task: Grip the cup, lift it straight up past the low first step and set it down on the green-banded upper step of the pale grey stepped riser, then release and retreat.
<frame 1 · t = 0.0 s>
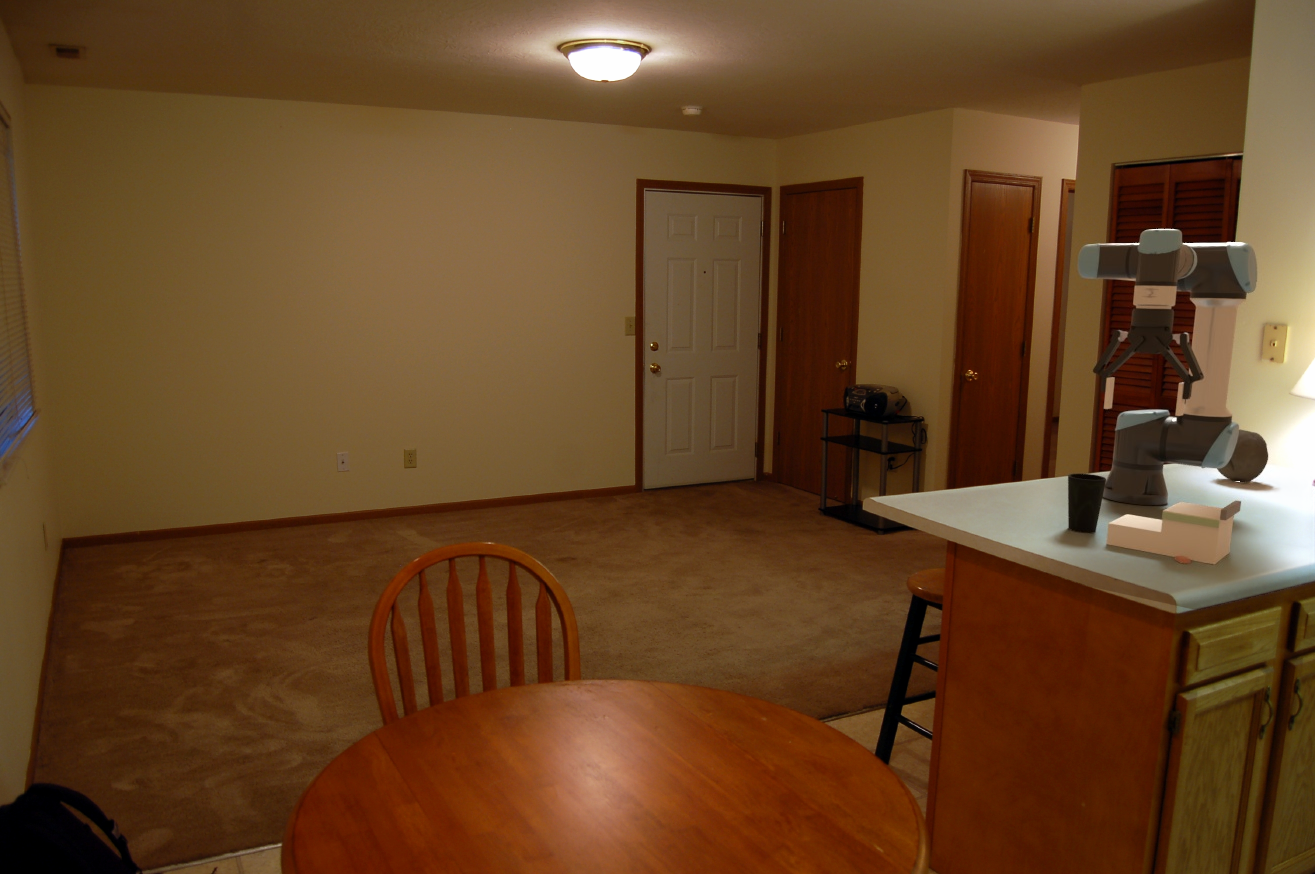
hand: (1142, 412, 190), 28 cm above the table, fingers open, 13 cm apart
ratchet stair: (1167, 548, 192), on the table
cup: (1081, 530, 206), on the table
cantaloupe: (1236, 481, 266), on the table
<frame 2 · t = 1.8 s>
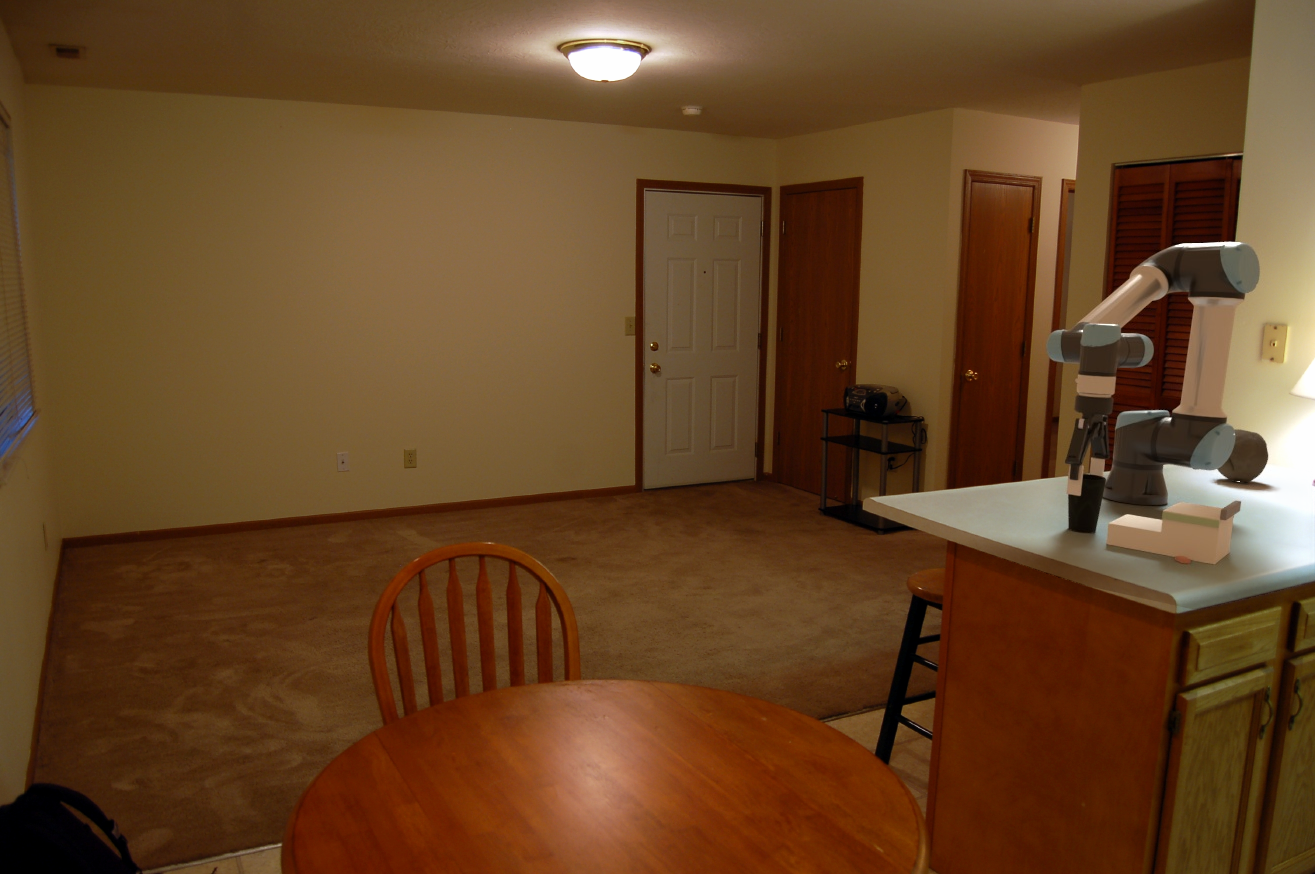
hand: (1084, 490, 204), 9 cm above the table, fingers open, 13 cm apart
nothing on the table moved.
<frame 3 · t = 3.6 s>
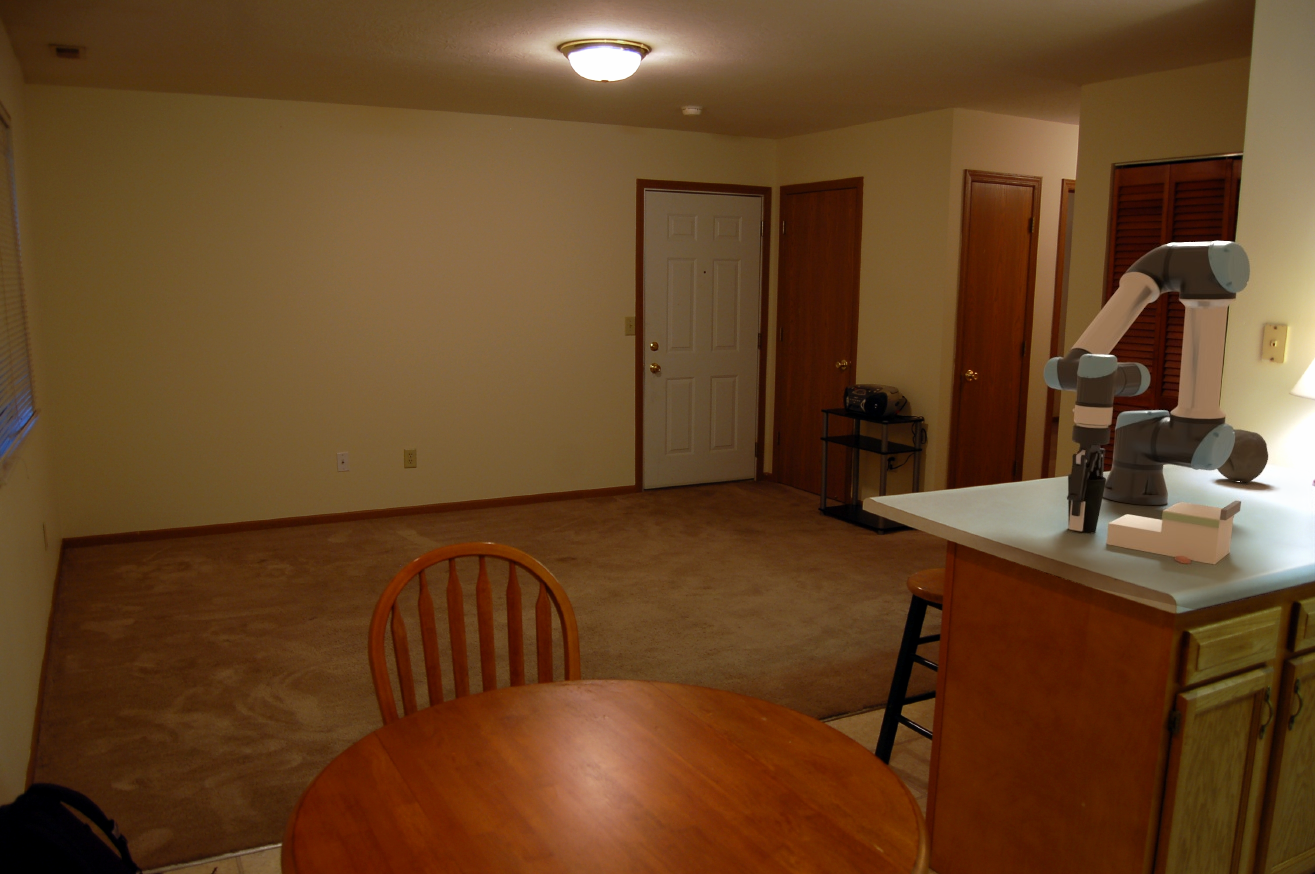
hand: (1082, 526, 206), 1 cm above the table, fingers closed on cup, 8 cm apart
cup: (1082, 530, 206), on the table, touching gripper
everything else where it was.
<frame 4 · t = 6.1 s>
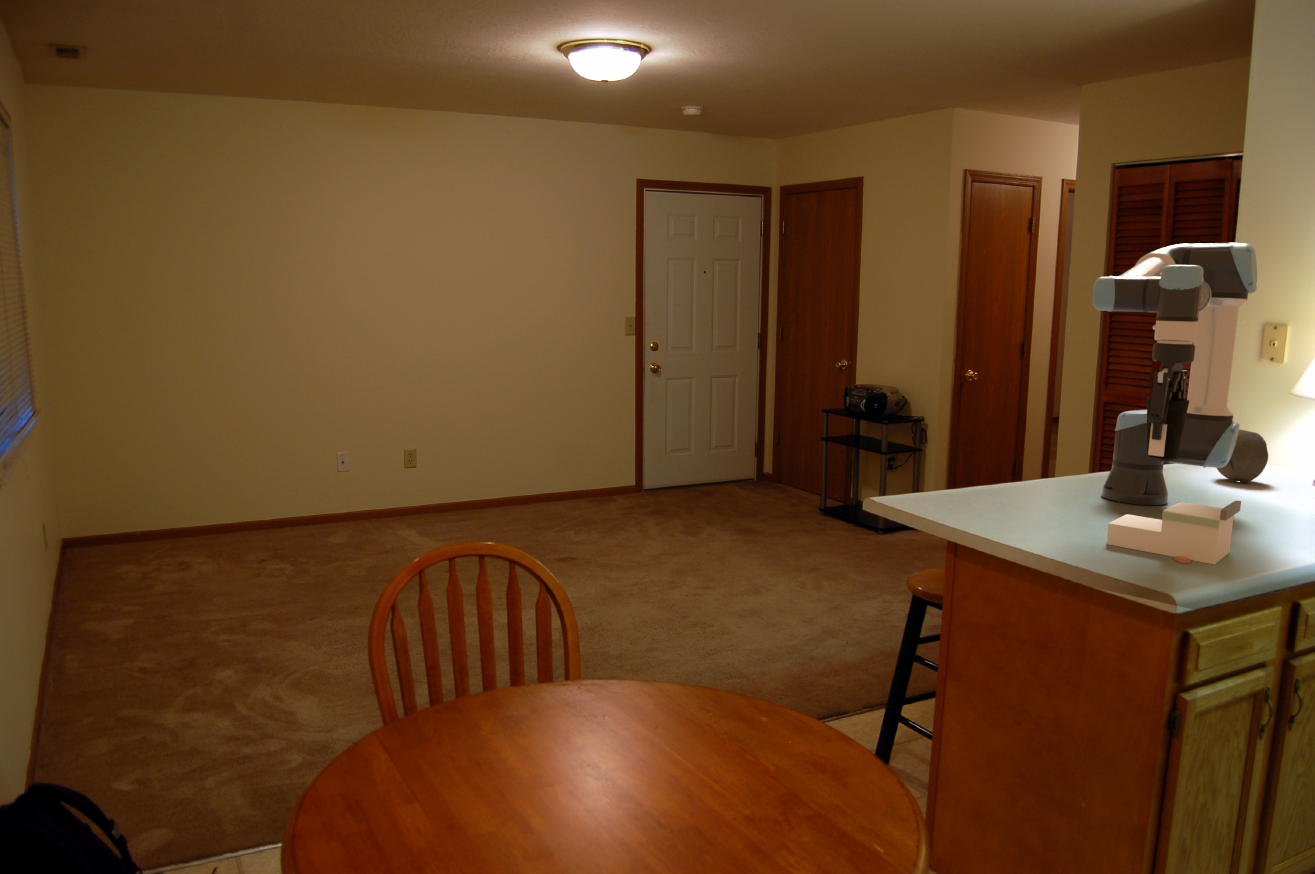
hand: (1162, 453, 191), 20 cm above the table, fingers closed on cup, 8 cm apart
cup: (1161, 457, 191), point 19 cm above the table, touching gripper
everything else where it was.
when the fingers open (11 cm above the table, at t = 9.0 s): cup drops 1 cm, resting on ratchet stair.
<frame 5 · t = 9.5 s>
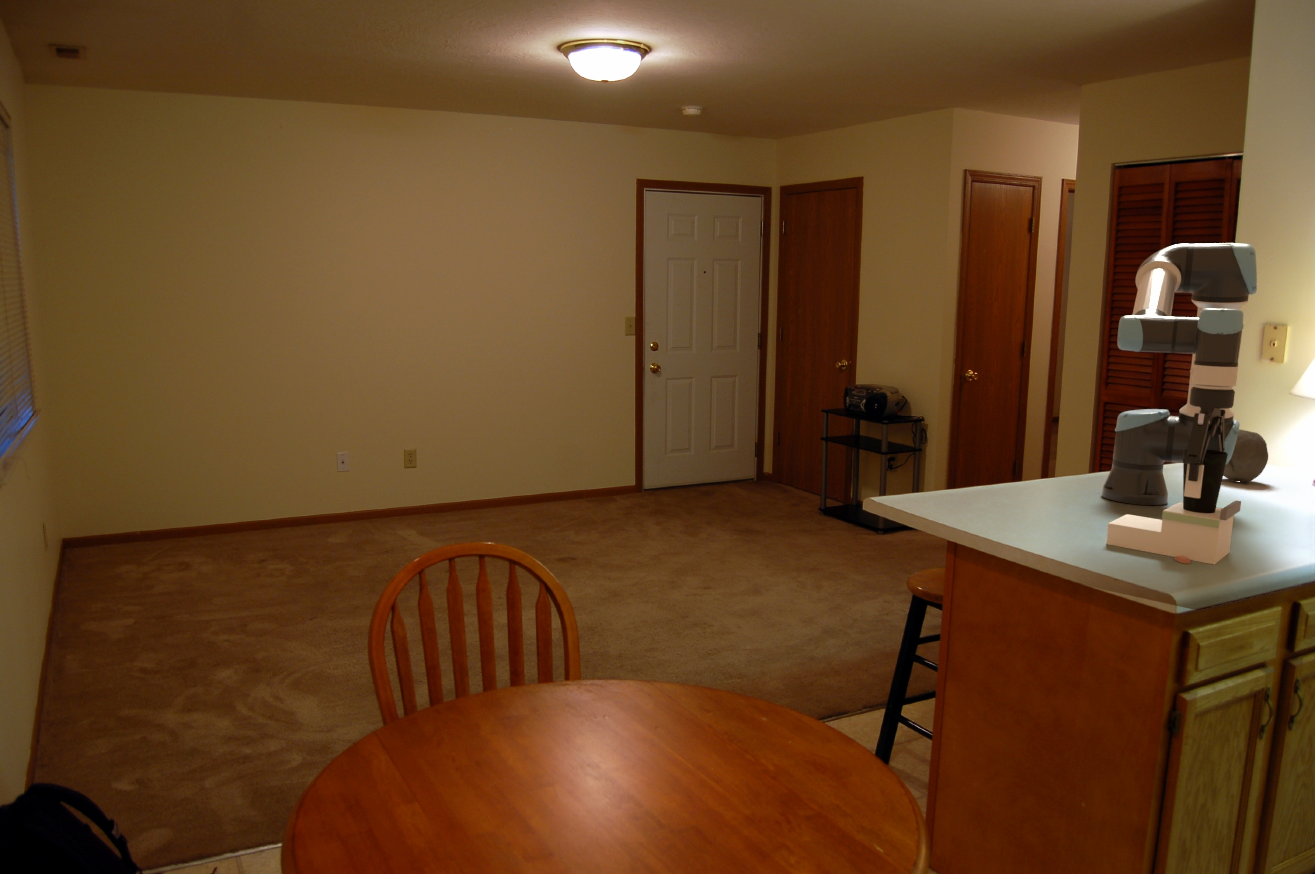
hand: (1201, 492, 186), 13 cm above the table, fingers open, 13 cm apart
cup: (1198, 511, 187), point 9 cm above the table, touching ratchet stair
everything else where it was.
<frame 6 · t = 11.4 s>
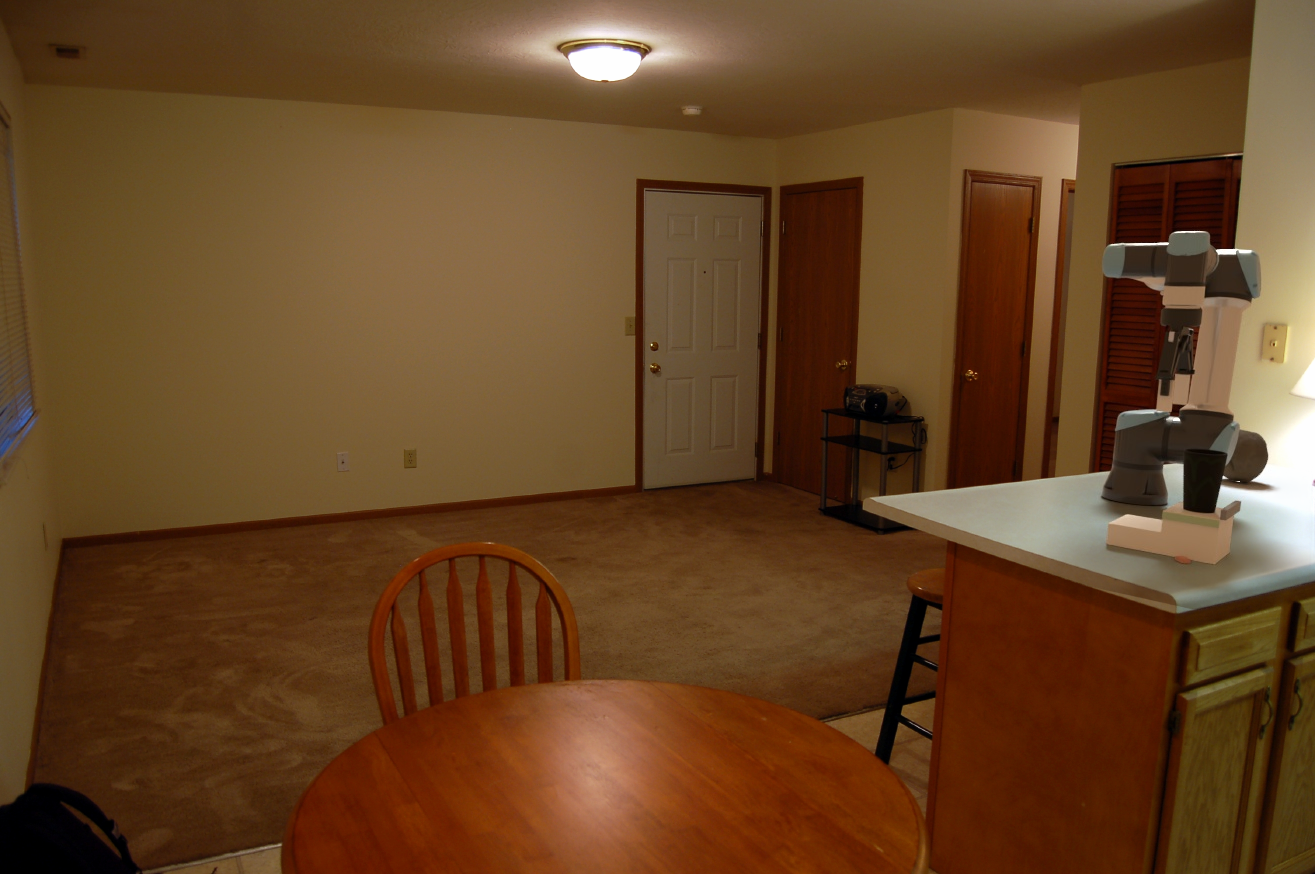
hand: (1171, 407, 197), 28 cm above the table, fingers open, 13 cm apart
nothing on the table moved.
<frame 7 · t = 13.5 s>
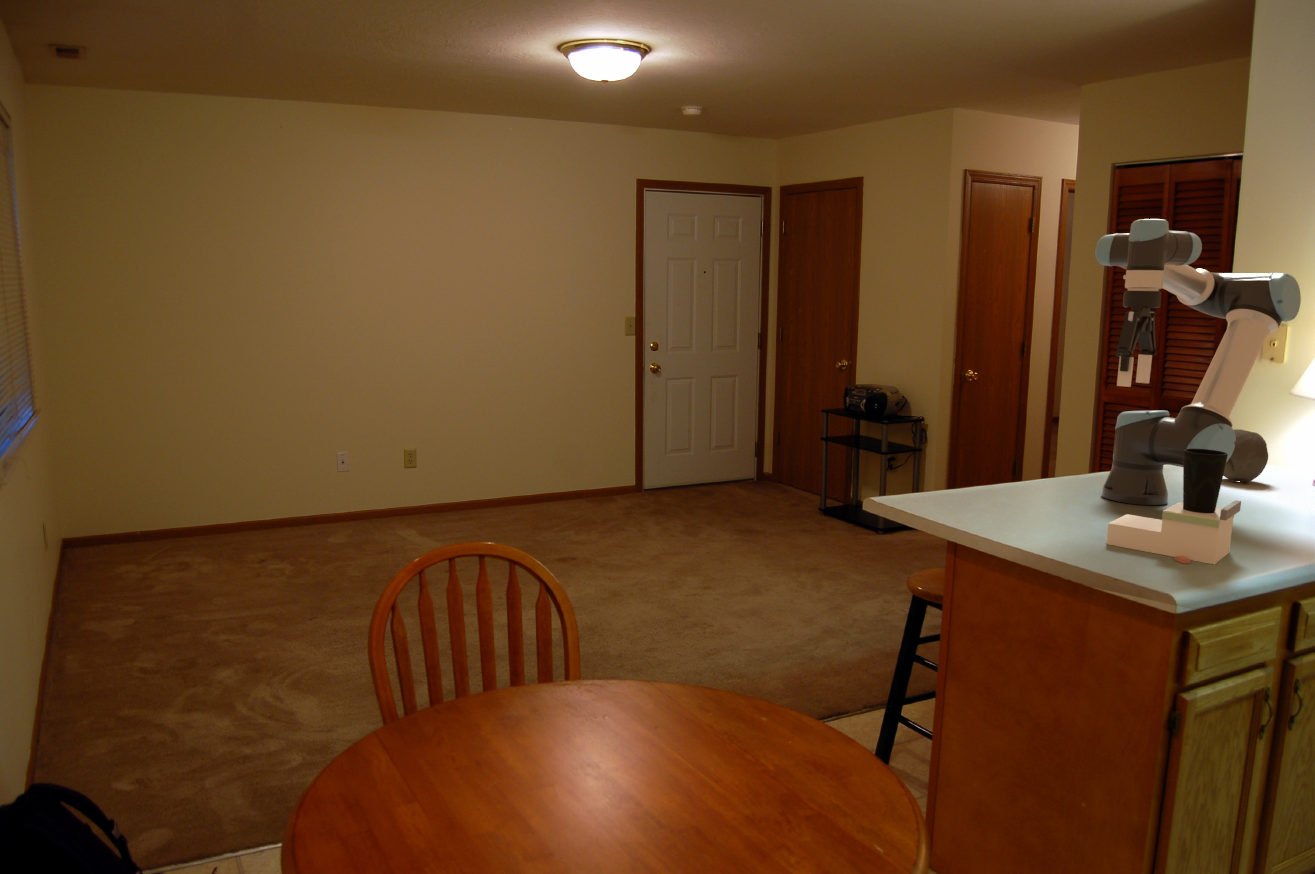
hand: (1133, 384, 211), 32 cm above the table, fingers open, 13 cm apart
nothing on the table moved.
at the end: cup inside the target area on the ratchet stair (0.4 cm from its centre), point 8.8 cm above the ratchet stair's base; cup tilted 0°; the gripper is holding nothing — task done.
